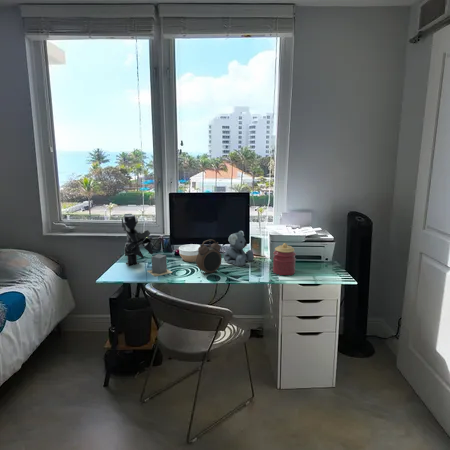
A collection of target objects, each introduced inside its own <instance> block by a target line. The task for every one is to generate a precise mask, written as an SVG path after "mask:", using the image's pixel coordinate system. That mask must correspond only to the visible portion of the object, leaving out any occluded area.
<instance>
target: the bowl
mask: <svg viewBox="0 0 450 450" xmlns="http://www.w3.org/2000/svg"><path fill="white" fill-rule="evenodd" d="M200 245H201V244H197V243H196V244H195V243H194V244H193V243H190V244H182V245H180V246H179V247H178V250H179V256H180V257H181V258H182V259H183V261H185V262H189V263H190V262H191V263H193V262H196V258H197V255H198V253H199V252H198V248H199V247H200Z"/></svg>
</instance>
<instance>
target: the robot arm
mask: <svg viewBox="0 0 450 450" xmlns="http://www.w3.org/2000/svg"><path fill="white" fill-rule="evenodd" d="M123 215H124V217H122V219H121V227H122V229H123V231H124V232H125V233H126V240H125V244H124V245H125V246H123V248H124V256H125V257H126V258H127V259H126V260H127V262H125V264H126V265H127V266H128V267H132V266H136V265H139V264H140V263H139V262H138V257H140V258H144V254H143V253H142V251H141V249H140V248H141V246H142V247H143V248H144V249H145V250H146V251H147V252H148V253H149V254H151V255H153V254H154V251H153V248H152V244H153V241H154V239H153V238H152V237H150V235H151V232H150V231H149V230H144V232H142V233H141V232H138V230H137V224H138V223H139V220H138V218H137V216H136V215H135V214H133V213H124V214H123ZM137 256H138V257H137Z"/></svg>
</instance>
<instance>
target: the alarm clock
mask: <svg viewBox="0 0 450 450" xmlns="http://www.w3.org/2000/svg"><path fill="white" fill-rule="evenodd" d="M210 241H211V242H213V243H212V244H208V245H206V244H205V243H207V242H210ZM199 245H200V247H199V248H198V252H199V253H198V255H197V258H196V261H195V263H196V266H197V268H198V269H199V270H201V272H200V273H201V274H202V273H203V272H204V274H203V276H206V274H207V273H208V274H212V273H218V270H219V268H220V266H221V265H222V254H221V253H220V251H221V245H220V244H219V242H218V241H217V242H216V240H214V239H207V240H204V241H203V242H202V244H199Z"/></svg>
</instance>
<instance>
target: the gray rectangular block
mask: <svg viewBox="0 0 450 450" xmlns="http://www.w3.org/2000/svg"><path fill="white" fill-rule="evenodd" d="M167 265H168V264H167V255H164V254H160V253H158V254H155V255H153V256H151V270H152V272H153V273H157V274H162V273H164V272H166V271H167V269H168V266H167Z"/></svg>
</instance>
